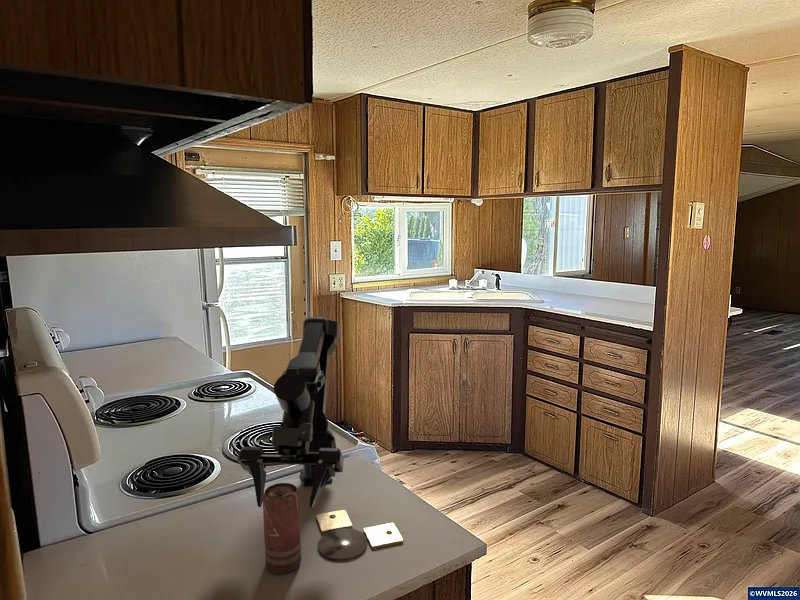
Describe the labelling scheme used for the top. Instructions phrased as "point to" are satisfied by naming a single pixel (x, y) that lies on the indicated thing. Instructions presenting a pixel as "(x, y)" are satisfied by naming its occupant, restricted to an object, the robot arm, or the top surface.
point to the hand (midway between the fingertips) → (285, 507)
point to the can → (282, 528)
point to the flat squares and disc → (351, 536)
